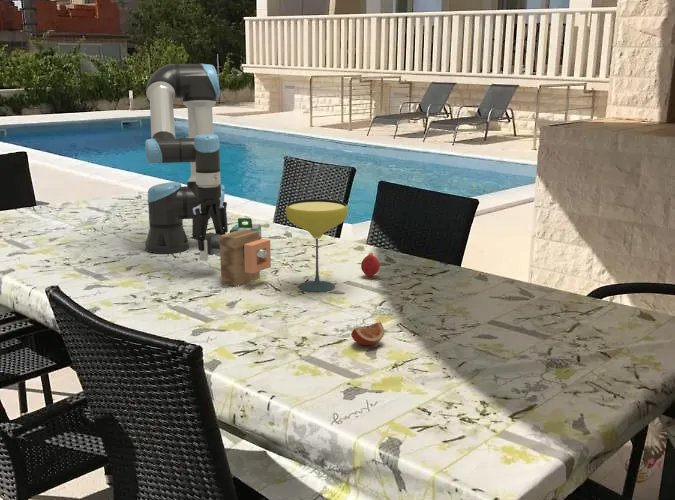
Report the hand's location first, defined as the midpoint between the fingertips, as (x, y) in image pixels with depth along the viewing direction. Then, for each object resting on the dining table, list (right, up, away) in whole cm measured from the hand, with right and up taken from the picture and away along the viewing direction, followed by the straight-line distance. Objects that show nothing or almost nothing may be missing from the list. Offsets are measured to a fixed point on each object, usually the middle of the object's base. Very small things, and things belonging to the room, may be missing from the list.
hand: (211, 257), depth 239 cm
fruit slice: (+47, -20, -56) cm, 76 cm away
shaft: (+8, 0, -6) cm, 10 cm away
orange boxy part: (+16, +1, -11) cm, 19 cm away
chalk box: (+9, -1, +18) cm, 20 cm away
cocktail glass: (+34, -9, -11) cm, 36 cm away
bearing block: (+10, -7, -5) cm, 13 cm away
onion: (+50, -6, -1) cm, 50 cm away
